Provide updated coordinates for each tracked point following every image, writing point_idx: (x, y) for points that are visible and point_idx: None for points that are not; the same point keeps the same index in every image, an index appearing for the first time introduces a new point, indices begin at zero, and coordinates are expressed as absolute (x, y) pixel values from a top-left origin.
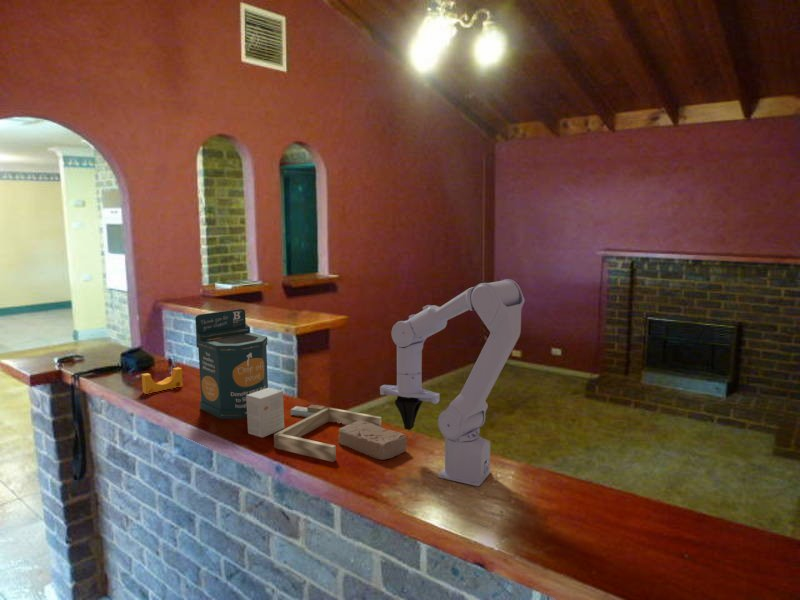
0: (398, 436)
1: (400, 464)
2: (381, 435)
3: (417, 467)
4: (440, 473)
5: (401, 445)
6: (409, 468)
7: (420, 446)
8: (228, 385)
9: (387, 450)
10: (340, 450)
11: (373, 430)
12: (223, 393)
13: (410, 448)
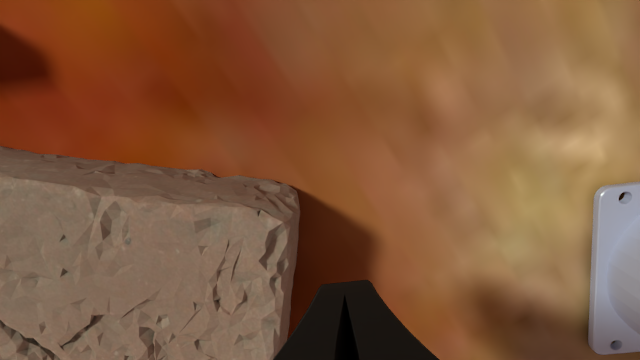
0: (259, 273)
1: None
2: (149, 299)
3: (451, 307)
4: (600, 334)
5: (294, 253)
6: (423, 334)
7: (323, 83)
8: None
9: None
10: None
11: (44, 257)
12: None
13: (292, 142)
